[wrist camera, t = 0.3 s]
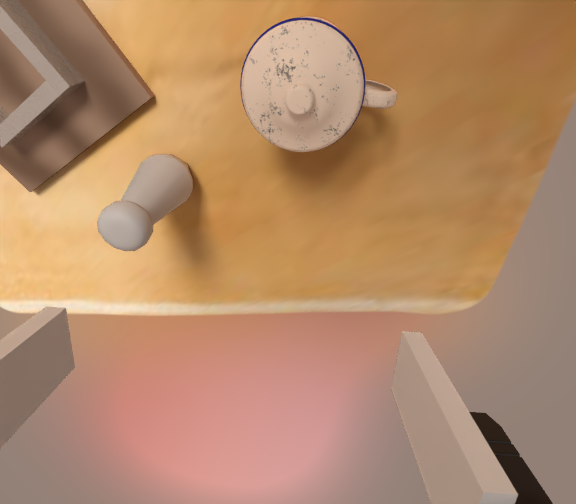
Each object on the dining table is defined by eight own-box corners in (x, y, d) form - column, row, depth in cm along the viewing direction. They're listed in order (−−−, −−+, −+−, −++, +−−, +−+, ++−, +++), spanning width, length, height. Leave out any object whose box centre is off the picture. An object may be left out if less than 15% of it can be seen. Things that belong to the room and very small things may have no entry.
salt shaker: (171, 204, 43) (119, 272, 33) (136, 163, 41) (68, 222, 30) (209, 181, 41) (167, 246, 30) (175, 137, 39) (116, 190, 28)
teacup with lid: (254, 113, 36) (227, 155, 27) (263, 4, 31) (234, 8, 22) (374, 134, 36) (389, 183, 27) (403, 28, 31) (435, 42, 22)
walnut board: (-31, -149, 27) (-42, -153, 27) (155, 95, 36) (150, 97, 35) (-141, 20, 35) (-152, 21, 34) (35, 188, 44) (30, 192, 43)
